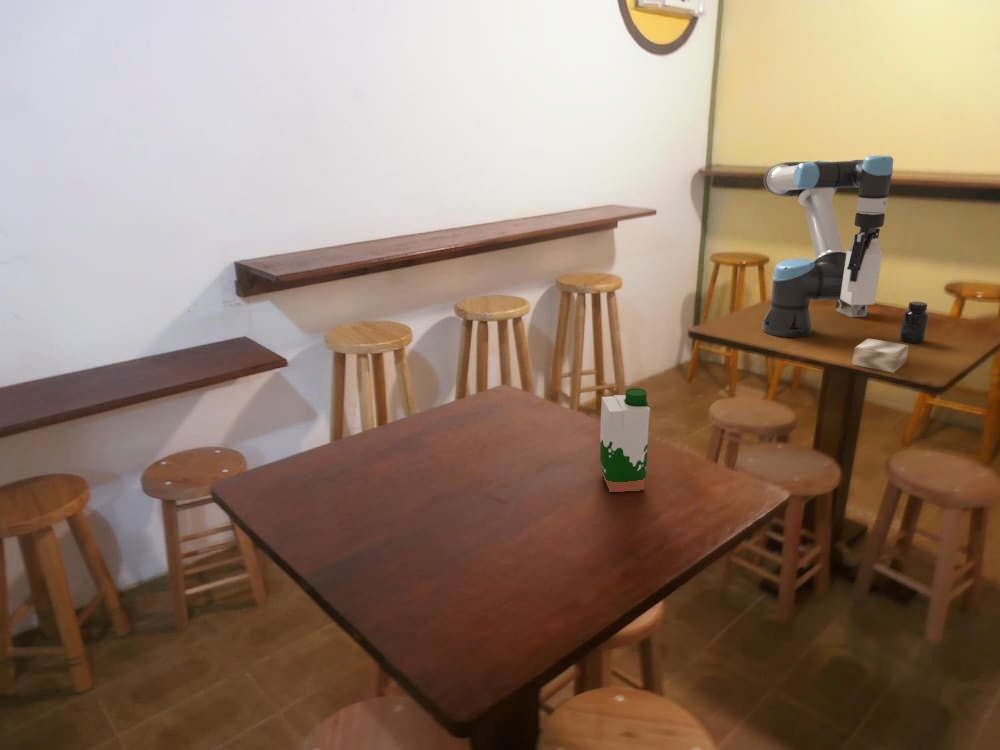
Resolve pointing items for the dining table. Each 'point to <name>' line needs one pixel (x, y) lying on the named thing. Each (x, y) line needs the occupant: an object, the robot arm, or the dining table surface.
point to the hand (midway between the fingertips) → (858, 288)
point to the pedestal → (880, 355)
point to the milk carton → (864, 276)
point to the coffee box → (851, 309)
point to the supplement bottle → (914, 323)
